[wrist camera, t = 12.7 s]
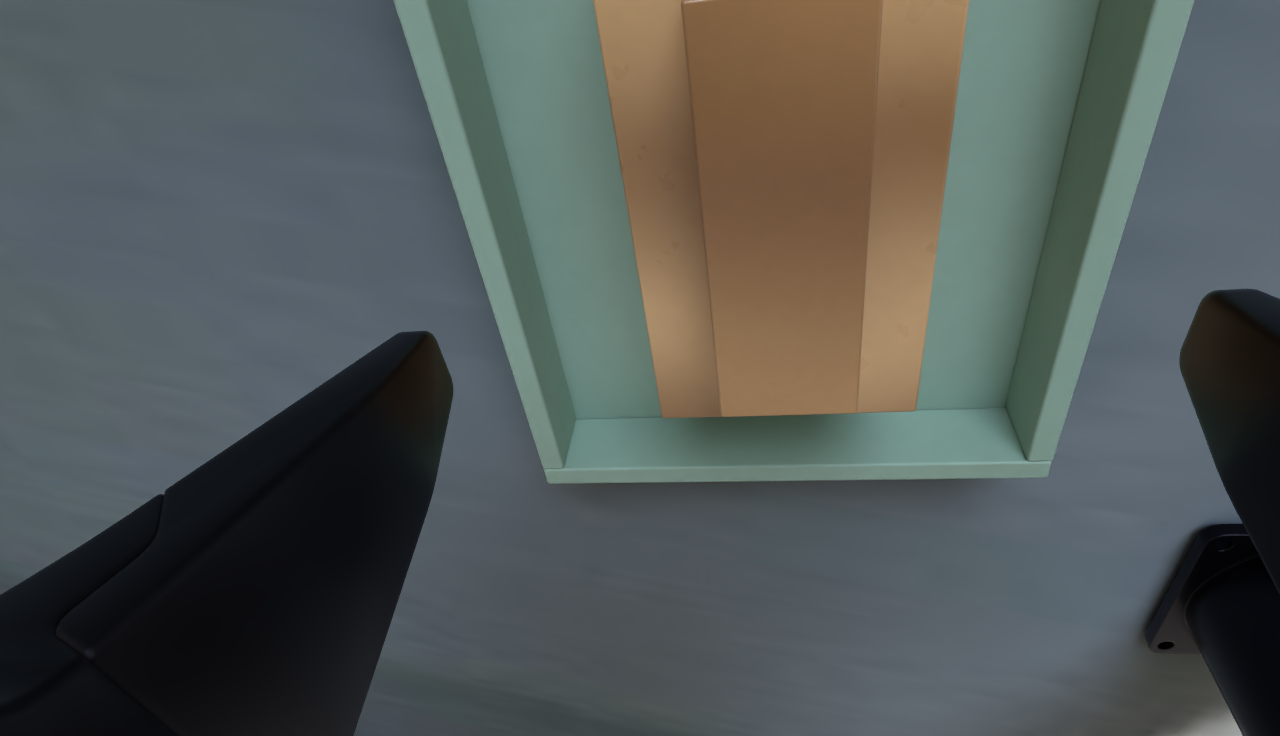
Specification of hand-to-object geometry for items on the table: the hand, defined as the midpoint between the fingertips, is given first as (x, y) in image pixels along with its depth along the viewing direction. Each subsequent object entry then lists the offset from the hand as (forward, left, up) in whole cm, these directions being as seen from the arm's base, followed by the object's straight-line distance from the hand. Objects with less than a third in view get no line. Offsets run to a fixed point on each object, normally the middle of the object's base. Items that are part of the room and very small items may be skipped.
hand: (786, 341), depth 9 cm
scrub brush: (0, 0, -8) cm, 8 cm away
